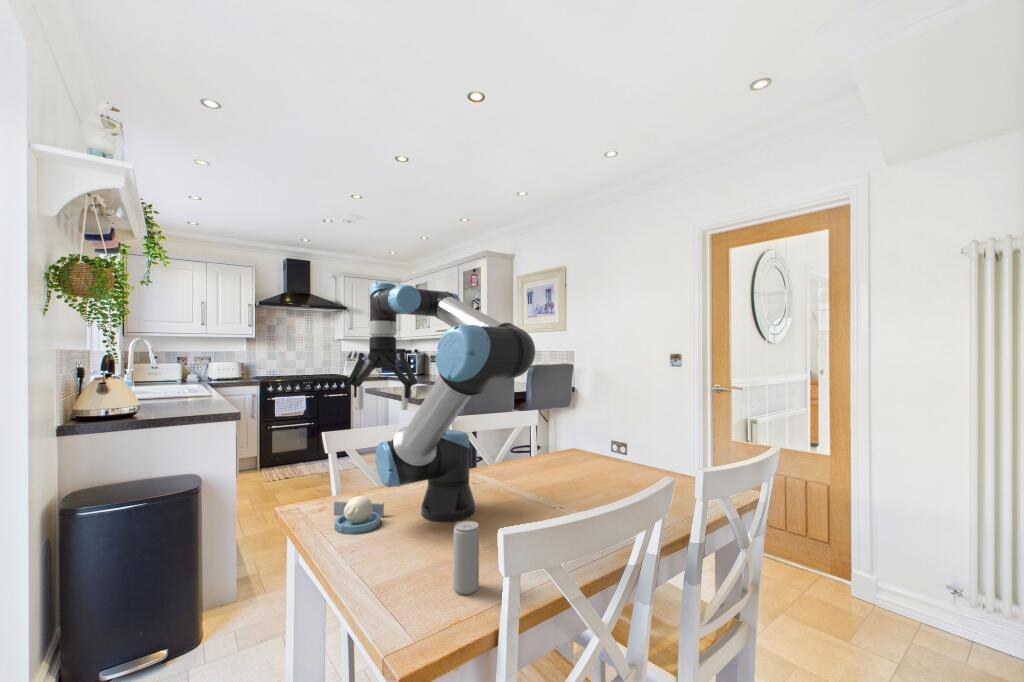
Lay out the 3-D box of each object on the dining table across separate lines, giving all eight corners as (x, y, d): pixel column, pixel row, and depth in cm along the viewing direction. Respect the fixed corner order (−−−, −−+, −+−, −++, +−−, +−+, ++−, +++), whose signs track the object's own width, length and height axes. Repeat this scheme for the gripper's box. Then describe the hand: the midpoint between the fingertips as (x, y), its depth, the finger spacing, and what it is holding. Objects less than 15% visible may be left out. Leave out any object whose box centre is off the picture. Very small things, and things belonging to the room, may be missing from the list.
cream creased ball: (337, 526, 113) (337, 499, 114) (357, 516, 120) (357, 491, 120) (358, 530, 111) (358, 503, 111) (377, 520, 117) (377, 494, 118)
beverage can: (453, 583, 86) (454, 520, 87) (478, 582, 87) (479, 520, 87) (452, 596, 81) (453, 530, 82) (478, 595, 82) (479, 529, 82)
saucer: (386, 518, 120) (386, 512, 120) (368, 535, 109) (368, 527, 109) (347, 517, 121) (347, 510, 121) (326, 532, 111) (326, 525, 111)
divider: (383, 515, 122) (383, 503, 122) (382, 517, 121) (382, 504, 121) (335, 513, 124) (335, 501, 124) (333, 515, 123) (334, 502, 123)
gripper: (428, 336, 132) (427, 408, 131) (348, 337, 135) (347, 407, 134) (420, 335, 124) (419, 411, 123) (336, 335, 127) (334, 410, 126)
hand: (382, 409), depth 129 cm, fingers open, 13 cm apart
